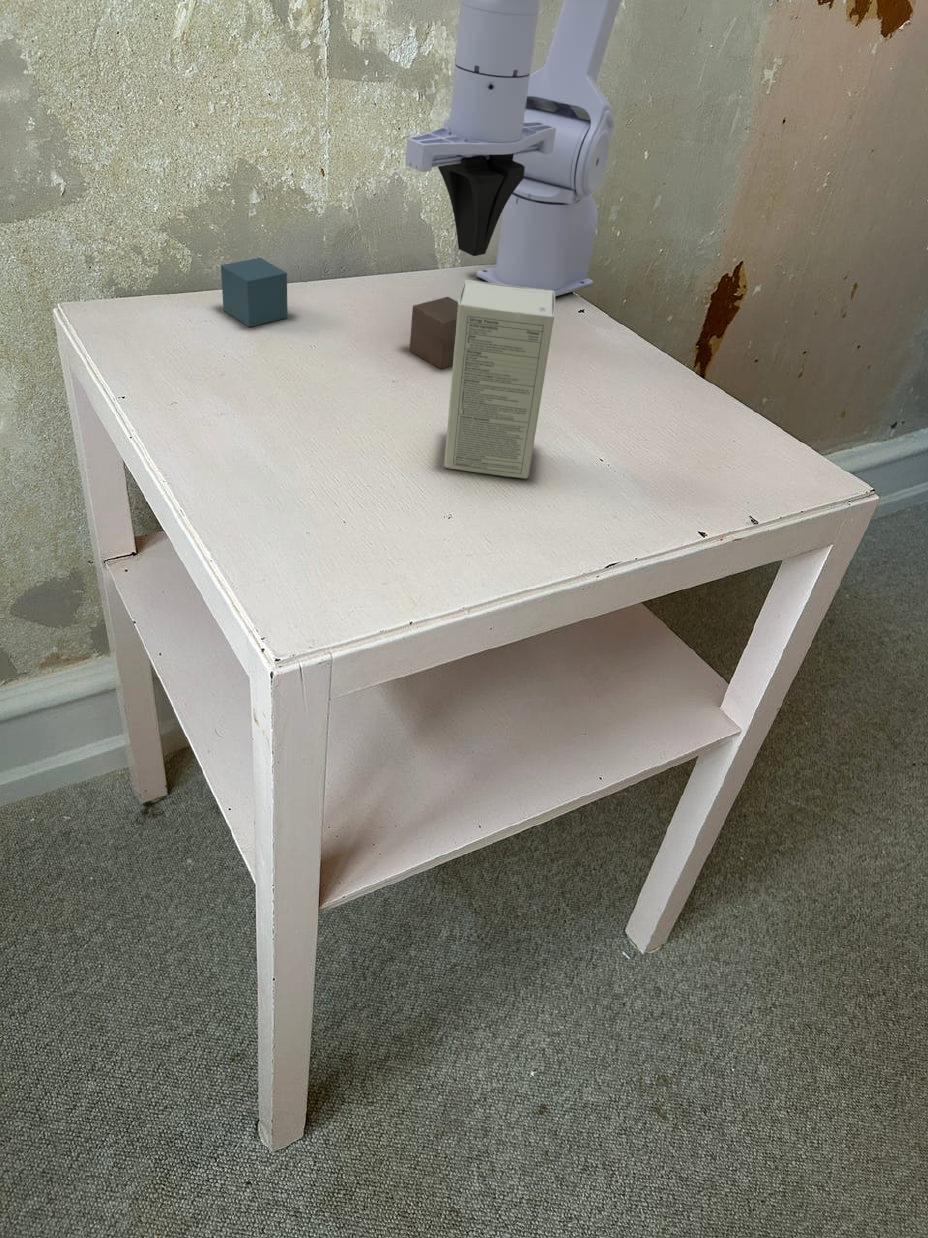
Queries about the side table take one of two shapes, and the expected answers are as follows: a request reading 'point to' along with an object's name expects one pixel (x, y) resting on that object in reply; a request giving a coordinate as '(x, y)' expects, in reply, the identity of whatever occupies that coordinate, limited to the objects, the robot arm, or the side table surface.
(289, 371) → the side table surface
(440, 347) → the walnut block
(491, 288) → the cosmetic box
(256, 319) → the slate block
